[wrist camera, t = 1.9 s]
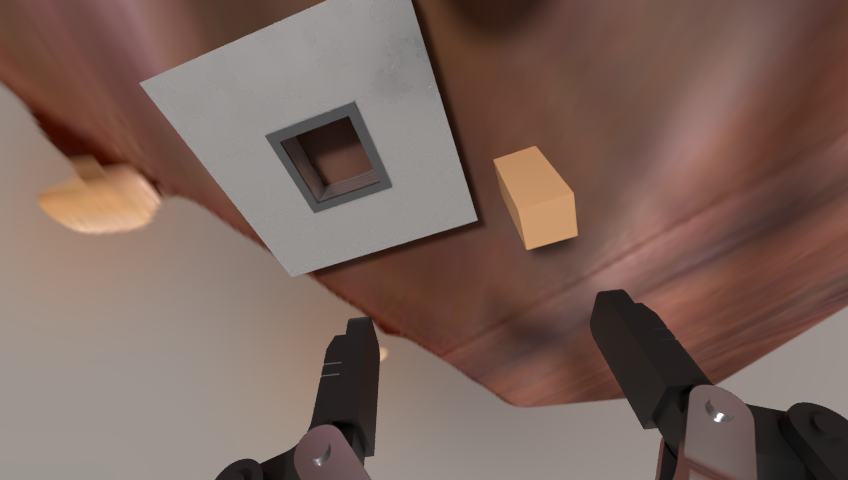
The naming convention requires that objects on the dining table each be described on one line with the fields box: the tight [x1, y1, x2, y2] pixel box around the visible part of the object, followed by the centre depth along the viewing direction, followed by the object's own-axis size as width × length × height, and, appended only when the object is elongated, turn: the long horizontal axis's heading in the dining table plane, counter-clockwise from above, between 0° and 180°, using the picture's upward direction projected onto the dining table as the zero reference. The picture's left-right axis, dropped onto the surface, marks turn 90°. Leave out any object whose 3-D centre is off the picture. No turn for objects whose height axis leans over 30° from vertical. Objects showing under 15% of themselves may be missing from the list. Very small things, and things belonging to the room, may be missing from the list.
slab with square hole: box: [139, 0, 478, 277], centre depth 30 cm, size 20×20×3 cm
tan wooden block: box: [493, 146, 578, 250], centre depth 30 cm, size 4×4×9 cm
